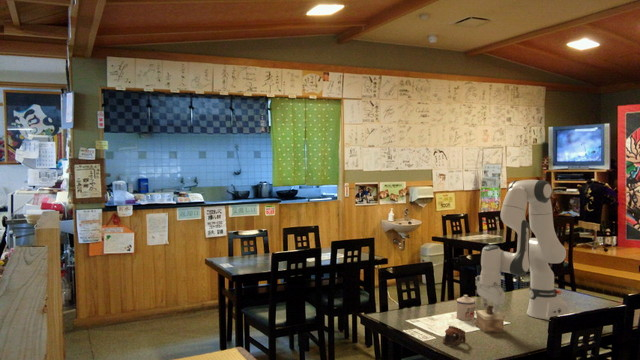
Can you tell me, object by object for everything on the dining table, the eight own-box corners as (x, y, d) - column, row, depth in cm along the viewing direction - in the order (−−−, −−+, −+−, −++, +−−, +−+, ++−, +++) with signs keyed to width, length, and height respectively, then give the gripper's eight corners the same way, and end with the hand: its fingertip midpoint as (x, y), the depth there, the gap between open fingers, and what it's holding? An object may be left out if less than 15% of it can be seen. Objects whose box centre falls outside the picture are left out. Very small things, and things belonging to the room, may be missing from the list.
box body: (494, 325, 240) (494, 313, 239) (503, 332, 230) (504, 319, 230) (475, 326, 238) (476, 313, 238) (484, 332, 229) (485, 319, 229)
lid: (494, 313, 240) (494, 303, 239) (504, 319, 230) (504, 309, 230) (475, 313, 238) (475, 303, 238) (484, 319, 229) (484, 309, 229)
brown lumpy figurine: (437, 342, 218) (443, 324, 220) (455, 350, 219) (461, 332, 222) (451, 344, 207) (457, 325, 209) (470, 353, 208) (476, 334, 210)
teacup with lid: (467, 322, 245) (467, 298, 244) (452, 317, 252) (452, 294, 252) (482, 318, 252) (482, 295, 251) (467, 313, 259) (467, 291, 259)
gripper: (508, 285, 224) (507, 316, 224) (487, 275, 244) (486, 303, 245) (494, 285, 223) (494, 316, 223) (474, 275, 243) (474, 304, 244)
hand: (490, 309), depth 234 cm, fingers open, 8 cm apart
